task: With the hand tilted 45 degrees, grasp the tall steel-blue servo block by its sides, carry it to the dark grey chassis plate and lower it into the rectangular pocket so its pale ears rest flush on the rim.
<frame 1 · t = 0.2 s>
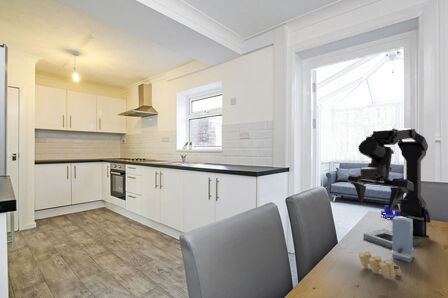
hand: (374, 206, 77), 15 cm above the table, tool tilted 15°, fingers open, 9 cm apart
chassis plate: (390, 241, 86), on the table
cable clip: (391, 220, 115), on the table
servo: (402, 257, 73), on the table
ammunition: (379, 273, 63), on the table
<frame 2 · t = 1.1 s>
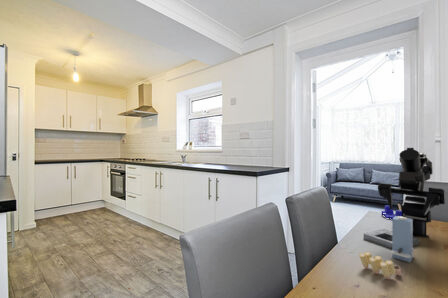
hand: (406, 211, 78), 13 cm above the table, tool tilted 45°, fingers open, 9 cm apart
nothing on the table moved.
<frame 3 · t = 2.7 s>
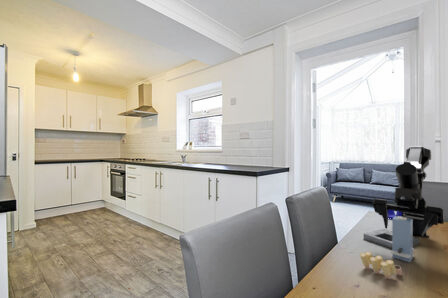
hand: (402, 231, 73), 8 cm above the table, tool tilted 45°, fingers open, 9 cm apart
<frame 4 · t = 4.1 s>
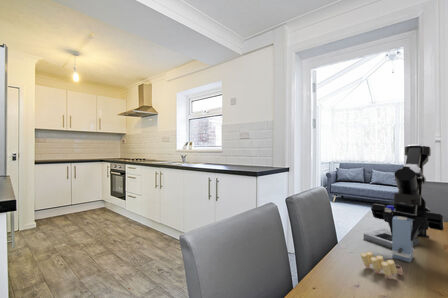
hand: (401, 237, 72), 7 cm above the table, tool tilted 45°, fingers closed on servo, 4 cm apart
servo: (402, 257, 73), on the table, touching gripper
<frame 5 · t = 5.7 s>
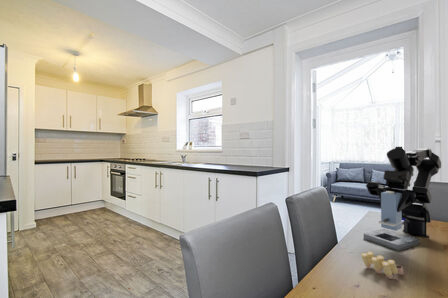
hand: (389, 209, 80), 14 cm above the table, tool tilted 45°, fingers closed on servo, 4 cm apart
servo: (391, 227, 80), point 7 cm above the table, touching gripper
when the fingers open (8 cm above the table, at t = 7.6 s): servo drops 2 cm, resting on chassis plate.
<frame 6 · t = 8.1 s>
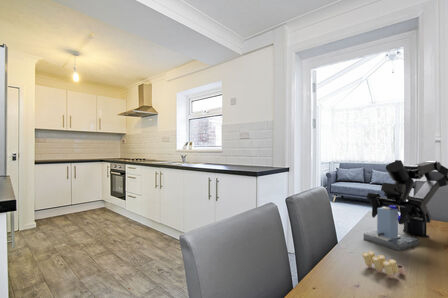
hand: (385, 220, 84), 9 cm above the table, tool tilted 45°, fingers open, 9 cm apart
servo: (387, 241, 85), resting on chassis plate
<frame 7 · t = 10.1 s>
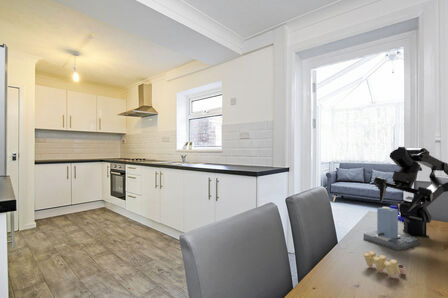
hand: (393, 206, 89), 13 cm above the table, tool tilted 35°, fingers open, 9 cm apart
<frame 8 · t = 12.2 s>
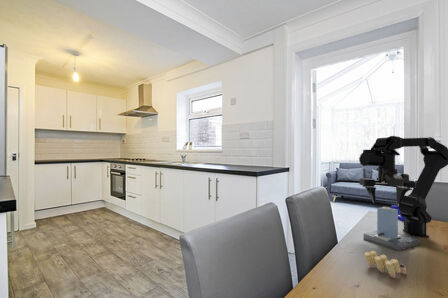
hand: (386, 203, 93), 13 cm above the table, tool pointing down, fingers open, 9 cm apart
at the end: servo 0.0 cm from the target spot, resting in chassis plate; servo tilted 0°; the gripper is holding nothing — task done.
